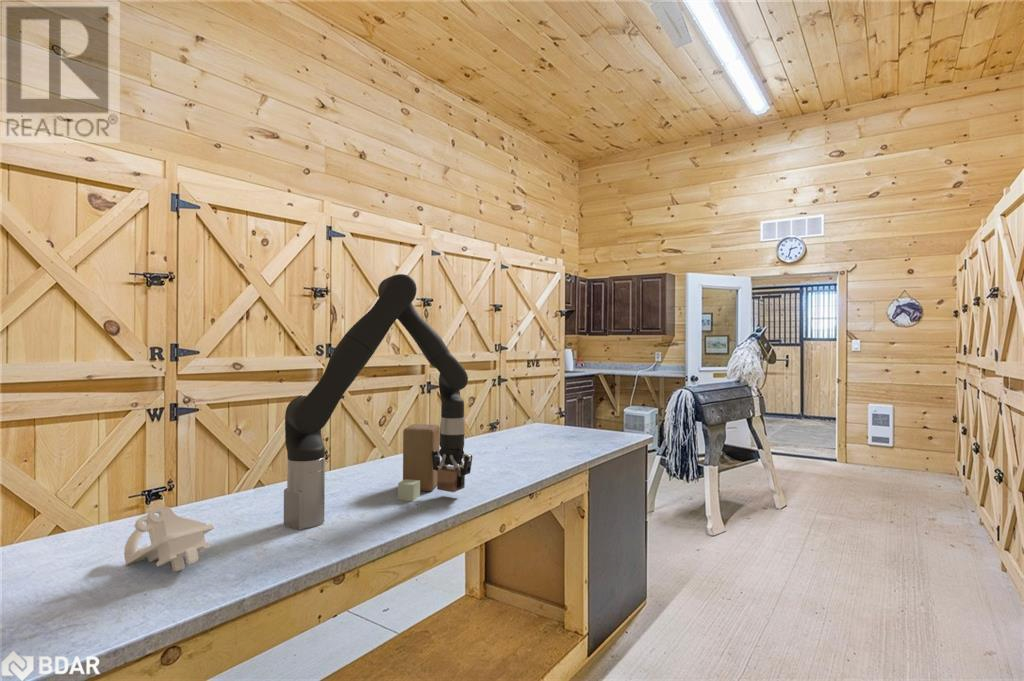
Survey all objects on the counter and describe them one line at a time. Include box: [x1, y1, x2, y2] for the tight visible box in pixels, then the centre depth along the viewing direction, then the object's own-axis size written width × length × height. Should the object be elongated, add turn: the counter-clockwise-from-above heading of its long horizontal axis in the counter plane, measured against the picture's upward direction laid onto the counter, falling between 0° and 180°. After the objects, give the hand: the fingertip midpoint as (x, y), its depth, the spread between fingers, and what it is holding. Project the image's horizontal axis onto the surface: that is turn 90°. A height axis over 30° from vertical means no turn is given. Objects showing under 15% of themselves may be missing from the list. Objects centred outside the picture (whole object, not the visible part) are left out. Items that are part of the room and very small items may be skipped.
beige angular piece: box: [123, 505, 215, 573], centre depth 114 cm, size 20×11×13 cm, turn 56°
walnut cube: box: [436, 465, 466, 493], centre depth 164 cm, size 6×6×6 cm
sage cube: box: [397, 479, 421, 502], centre depth 164 cm, size 5×5×5 cm
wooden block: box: [402, 423, 440, 492], centre depth 175 cm, size 10×10×20 cm
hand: (451, 486), depth 164 cm, fingers closed on walnut cube, 6 cm apart
